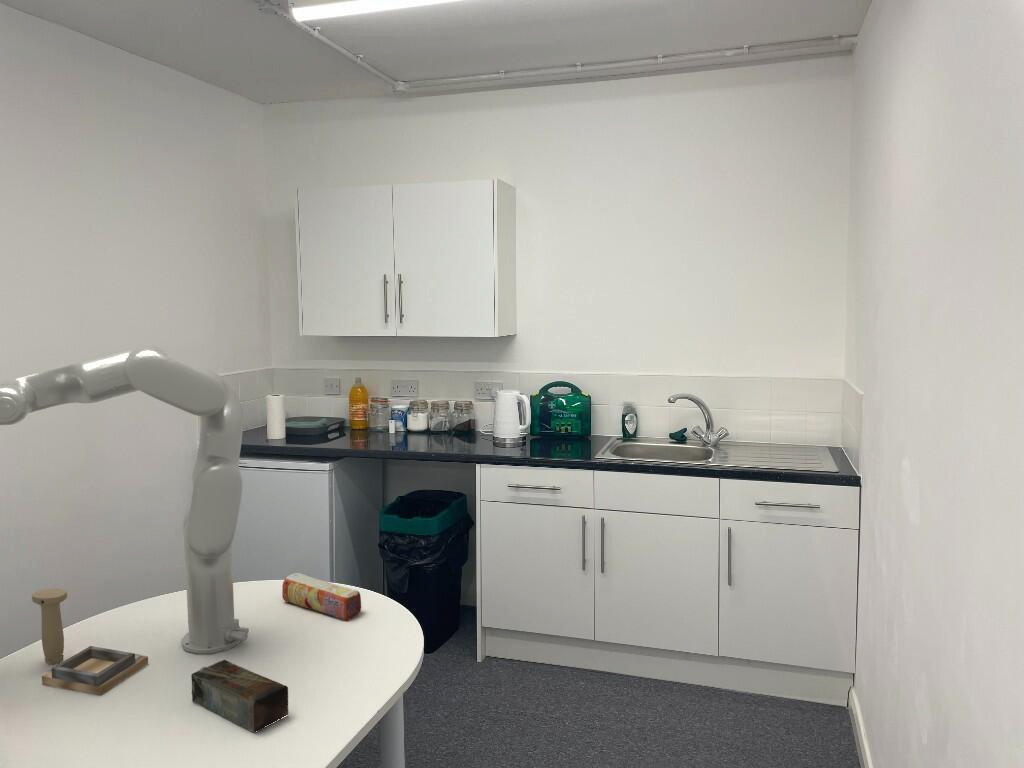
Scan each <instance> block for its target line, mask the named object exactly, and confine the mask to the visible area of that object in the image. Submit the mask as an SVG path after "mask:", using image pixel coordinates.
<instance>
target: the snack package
mask: <svg viewBox="0 0 1024 768" xmlns="http://www.w3.org/2000/svg"><path fill="white" fill-rule="evenodd" d="M281 586H282V589H281V590H282V593H281V594H282V600H283V601H284V602H286V603H290V604H293V605H297V606H299V607H303V608H307V609H310V610H314V611H317V612H320V613H322V614H327V615H329V616H332V617H335V618H338V619H340V620H343V621H350V620H352V619H353V618H356V617H357V616H359V614H360V613H361V610H362V598H361V592H360V591H358V590H356V589H352V588H347V587H344V586H341V585H339V584H336V583H331V582H329V581H326V580H321V579H318V578H315V577H312V576H309V575H306V574H304V573H299V572H295V573H292V574H291V573H290V574H289V575H287V577H286V578H285V579H284V580H283V582H282V585H281Z"/></svg>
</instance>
